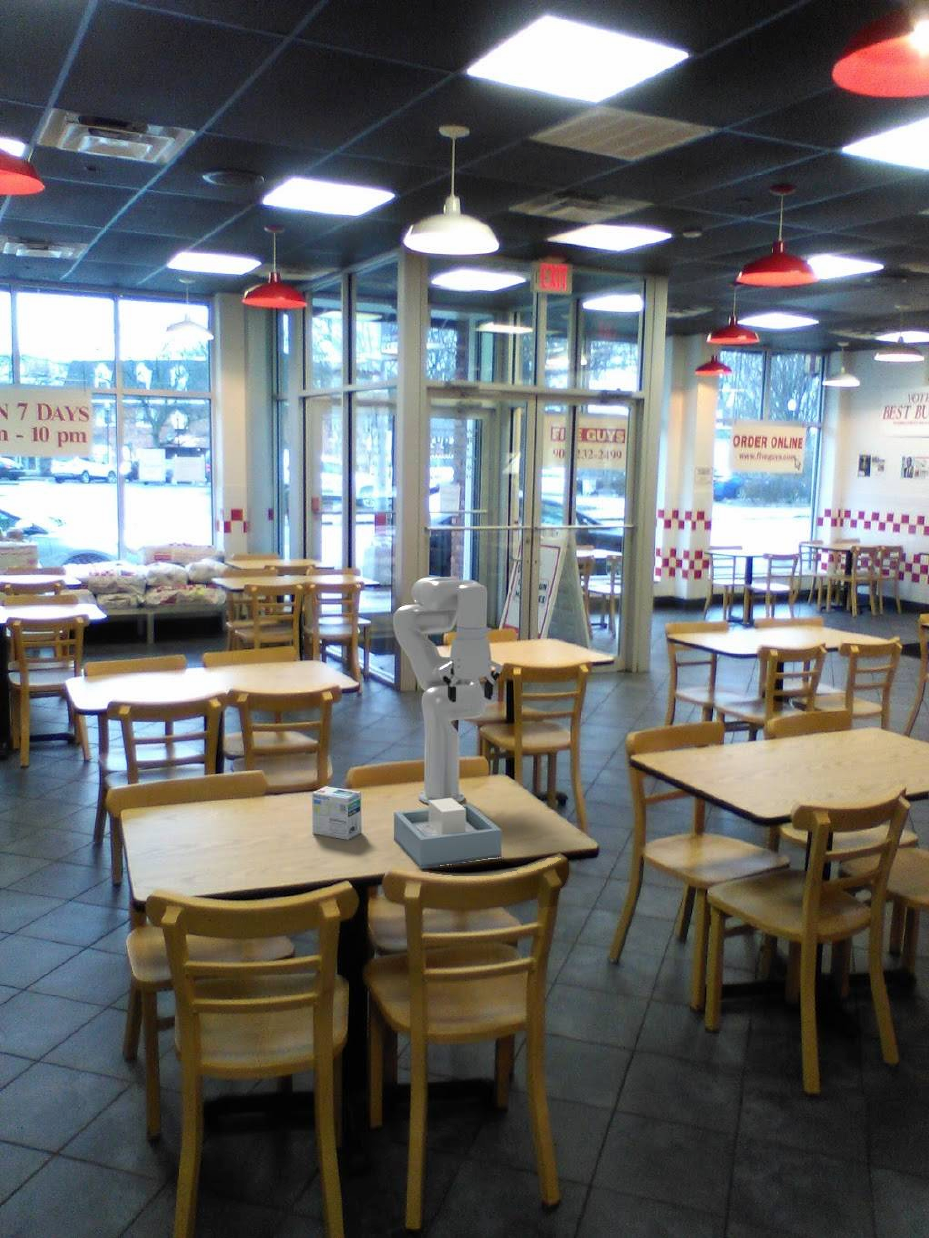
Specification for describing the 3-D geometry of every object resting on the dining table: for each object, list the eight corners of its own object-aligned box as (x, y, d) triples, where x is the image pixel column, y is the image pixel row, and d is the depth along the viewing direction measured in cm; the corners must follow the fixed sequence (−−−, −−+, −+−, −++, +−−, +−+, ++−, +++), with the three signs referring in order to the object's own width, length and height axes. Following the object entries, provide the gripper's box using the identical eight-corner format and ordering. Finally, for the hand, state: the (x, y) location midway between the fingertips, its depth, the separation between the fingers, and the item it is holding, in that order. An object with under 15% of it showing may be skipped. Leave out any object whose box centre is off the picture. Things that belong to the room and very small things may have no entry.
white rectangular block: (428, 824, 260) (428, 800, 259) (451, 821, 262) (451, 797, 261) (441, 836, 252) (442, 812, 251) (465, 833, 254) (465, 809, 253)
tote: (393, 839, 263) (394, 812, 262) (469, 830, 271) (469, 803, 270) (420, 869, 245) (420, 839, 244) (500, 858, 252) (501, 829, 251)
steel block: (412, 838, 261) (412, 823, 261) (461, 832, 266) (461, 817, 265) (429, 857, 249) (430, 841, 249) (481, 850, 254) (481, 834, 253)
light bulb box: (362, 832, 268) (362, 790, 266) (348, 841, 262) (348, 798, 260) (325, 825, 273) (325, 784, 271) (311, 833, 267) (311, 792, 265)
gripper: (497, 629, 276) (495, 694, 279) (433, 632, 270) (433, 699, 272) (508, 634, 269) (507, 700, 272) (444, 637, 263) (443, 705, 265)
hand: (470, 699), depth 272 cm, fingers open, 9 cm apart
